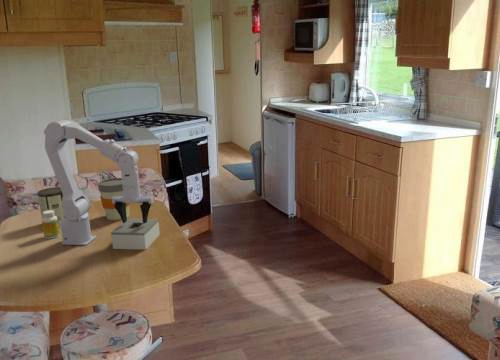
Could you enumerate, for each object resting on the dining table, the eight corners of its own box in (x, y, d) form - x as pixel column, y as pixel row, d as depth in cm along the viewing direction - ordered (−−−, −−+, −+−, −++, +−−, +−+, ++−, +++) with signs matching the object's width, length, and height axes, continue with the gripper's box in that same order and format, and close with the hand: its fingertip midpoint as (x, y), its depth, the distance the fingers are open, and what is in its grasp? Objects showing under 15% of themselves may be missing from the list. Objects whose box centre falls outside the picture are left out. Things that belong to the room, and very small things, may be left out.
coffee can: (59, 218, 202) (54, 185, 198) (75, 222, 197) (70, 188, 193) (37, 226, 194) (31, 192, 190) (53, 230, 188) (47, 195, 185)
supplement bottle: (54, 239, 179) (50, 214, 176) (41, 238, 180) (37, 213, 177) (62, 233, 184) (59, 209, 181) (50, 233, 185) (46, 209, 182)
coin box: (113, 248, 167) (111, 232, 166) (129, 233, 181) (127, 218, 179) (145, 249, 165) (144, 233, 164) (159, 234, 179) (158, 219, 177)
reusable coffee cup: (109, 211, 208) (105, 177, 204) (137, 211, 206) (134, 177, 202) (97, 221, 196) (92, 185, 192) (126, 221, 194) (122, 185, 190)
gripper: (106, 188, 165) (110, 225, 169) (146, 188, 163) (150, 226, 166) (115, 182, 172) (119, 218, 175) (154, 183, 169) (157, 219, 173)
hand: (135, 222), depth 171 cm, fingers open, 7 cm apart
